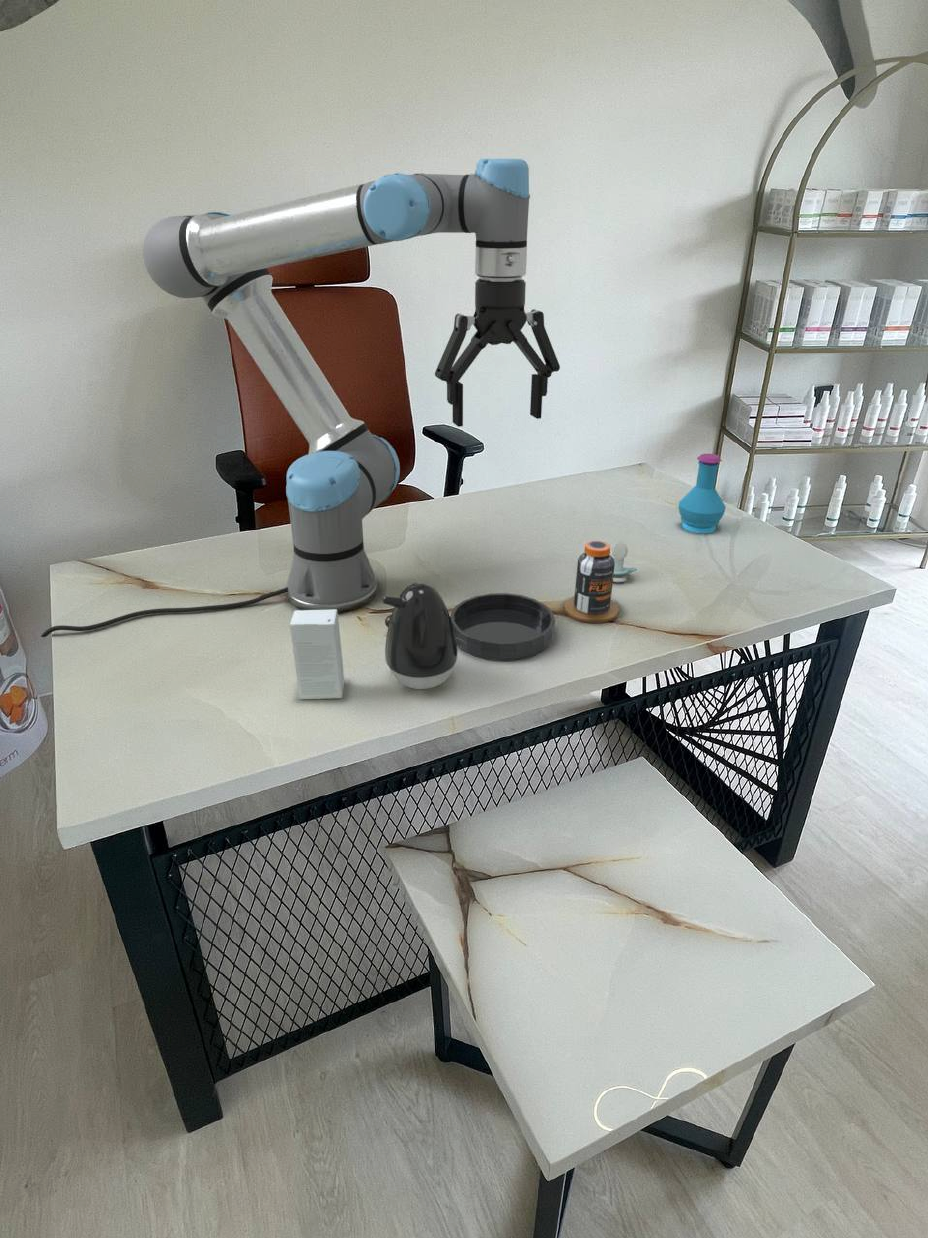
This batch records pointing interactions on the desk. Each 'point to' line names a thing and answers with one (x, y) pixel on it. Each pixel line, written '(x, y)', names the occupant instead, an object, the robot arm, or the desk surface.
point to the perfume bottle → (703, 499)
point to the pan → (503, 626)
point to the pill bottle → (594, 578)
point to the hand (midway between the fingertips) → (497, 420)
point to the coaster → (591, 618)
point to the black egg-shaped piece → (420, 638)
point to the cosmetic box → (317, 653)
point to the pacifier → (620, 562)
